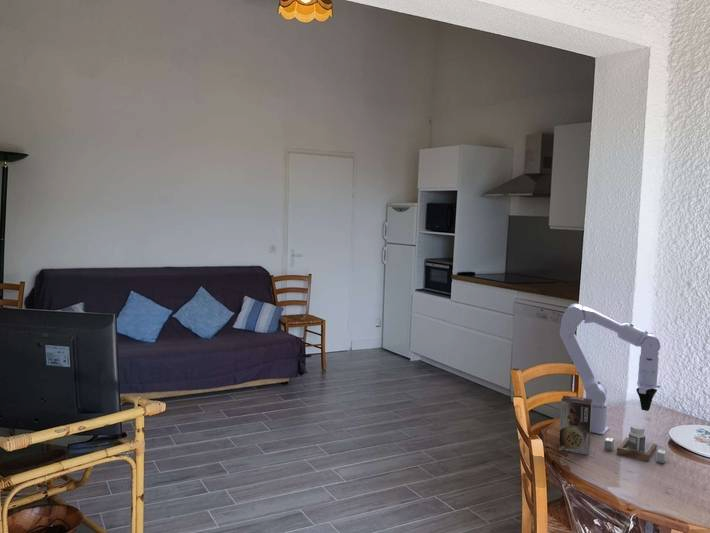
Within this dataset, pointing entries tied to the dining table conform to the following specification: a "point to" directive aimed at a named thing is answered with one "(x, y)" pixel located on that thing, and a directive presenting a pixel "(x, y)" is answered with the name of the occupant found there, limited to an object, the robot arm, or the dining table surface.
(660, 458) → the white cubes brown bar
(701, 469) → the dining table surface
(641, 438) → the pill bottle
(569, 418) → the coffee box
